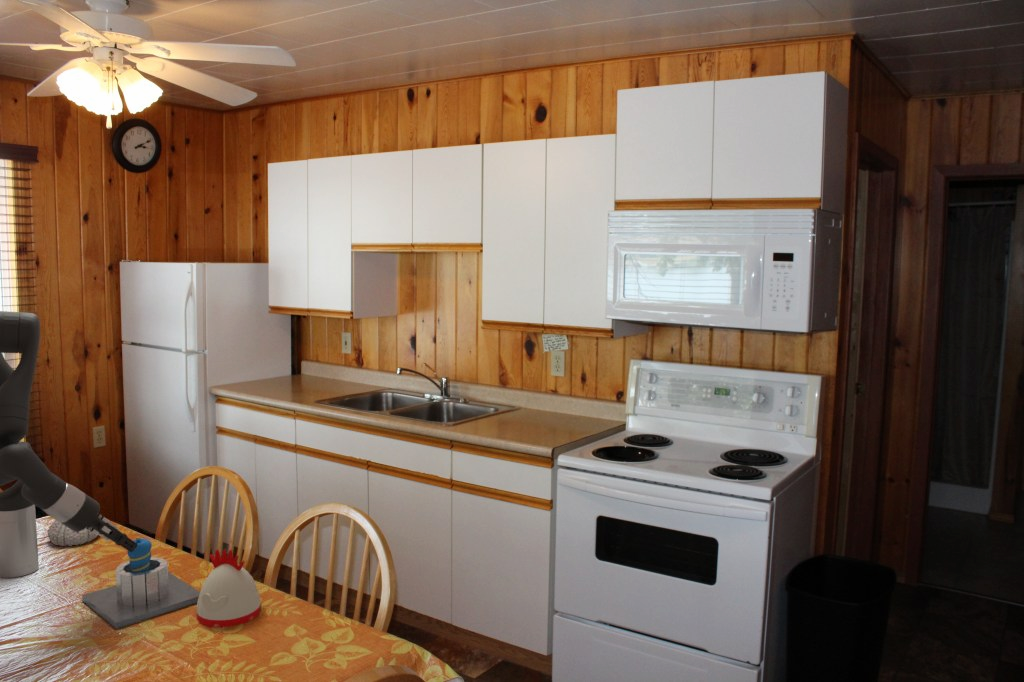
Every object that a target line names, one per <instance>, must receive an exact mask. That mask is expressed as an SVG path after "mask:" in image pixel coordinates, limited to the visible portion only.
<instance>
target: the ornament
mask: <svg viewBox="0 0 1024 682" xmlns="http://www.w3.org/2000/svg"><path fill="white" fill-rule="evenodd" d="M132 541H134V542H136V543H137V547H136V548H135V549H134V551H133V552H130V551H128V550H127V557H128V558H129V561H130V566H131V568H132V569H133V571H132V573H142V572H147V571H149V569H150V562H149V561H150V559H151V558H152V551H151V550H152V546H153V545H152V544H153V543H152V542H151V540H150V539H147V538H141V536H140V534H137V536H135V539H134V540H132Z"/></svg>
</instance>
